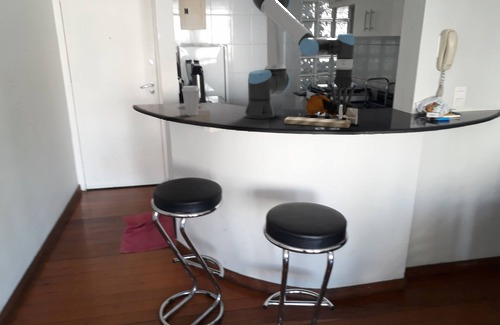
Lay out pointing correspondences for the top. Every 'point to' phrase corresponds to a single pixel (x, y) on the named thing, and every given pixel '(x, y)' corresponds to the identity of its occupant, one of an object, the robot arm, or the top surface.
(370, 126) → the top surface
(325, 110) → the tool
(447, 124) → the top surface
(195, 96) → the coffee cup
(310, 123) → the board
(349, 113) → the architectural model
